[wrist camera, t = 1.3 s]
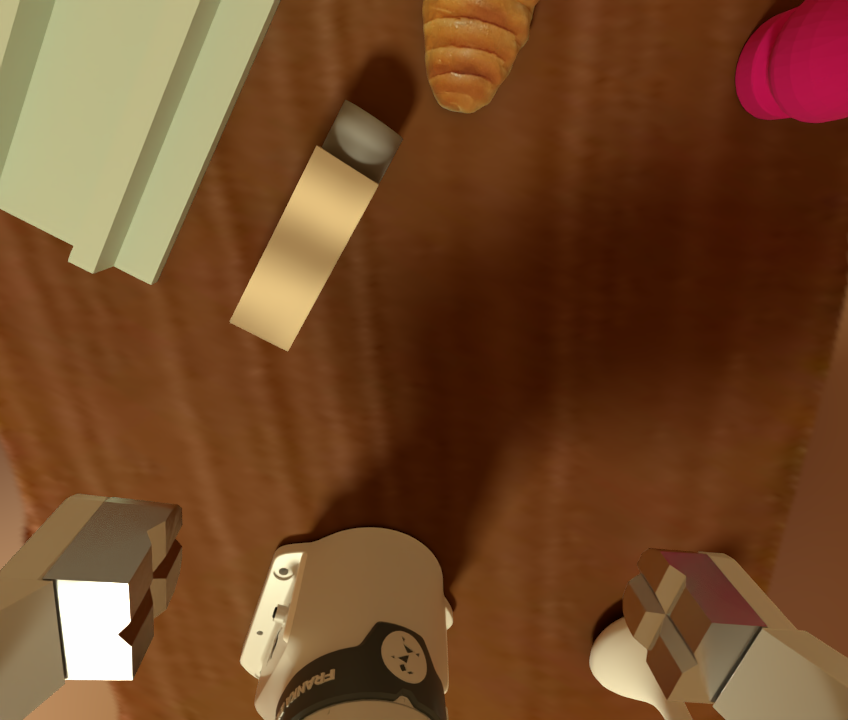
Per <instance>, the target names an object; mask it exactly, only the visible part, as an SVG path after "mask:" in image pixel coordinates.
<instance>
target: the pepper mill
mask: <svg viewBox="0 0 848 720" xmlns="http://www.w3.org/2000/svg"><path fill="white" fill-rule="evenodd" d="M735 84H736V92H737V95H738V98H739V100H740V103H741V104H742V106H743V107H744V109H745V110H746V111H747V112H748V113H750V114H751V115H753V116H754V117H756V118H759V119H764V120H776V119H785V118H794V119H796V120H798V121H801V122H808V123H823V122H828V121H833V120H838V119H843V118H846V117H848V0H805V1H804V2H803V3H802V4H801V5H800V6H799V7H796V8H793V9H791V10H788V11H786V12H783V13H780V14H778V15H776V16H774V17H772V18H770V19H769V20H767V21H766V22H765V23H763V24H762V25H761V26H760V27H759V28H758V29H757V30H756V31H755V32H754V33H753V34H752V35H751V37H750V38H749V40H748V41H747V43H746V44H745V46H744V48H743V50H742V52H741V54H740V57H739V60H738V63H737V68H736V75H735Z"/></svg>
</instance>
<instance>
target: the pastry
mask: <svg viewBox="0 0 848 720" xmlns="http://www.w3.org/2000/svg"><path fill="white" fill-rule="evenodd" d="M538 2H539V0H424V1H423V6H422V15H423V31H424V38H425V63H426V72H427V77H428V81H429V84H430V86H431V88H432V91H433V94H434V96H435V98H436V100H437V102H438V103H439V105H440V106H441V107H443V108H445V109H448V110H450V111H455V112H463V113H472V112H475V111H476V110H478V109H480V108H481V107H483V106H485V105H487V104H489V103H490V102H491V100H492V98H493V96H494V95H495V93H496V92H497V89H498V87H499V86H500V85H501V84H502V83H503V82H504V80H505V79H506V77H507V76H508V75H509V73H510V71H511V68H512V66H513V63H514V61H515V59H516V57H517V55H518V52H519V50H520V49H521V48H522V47H523V46H524V45H525V43H526V42H527V40H528V39H529V31H530V30H529V27H530V23H531V20H532V16H533V11H534V7H535V5H536V4H537V3H538Z"/></svg>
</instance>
